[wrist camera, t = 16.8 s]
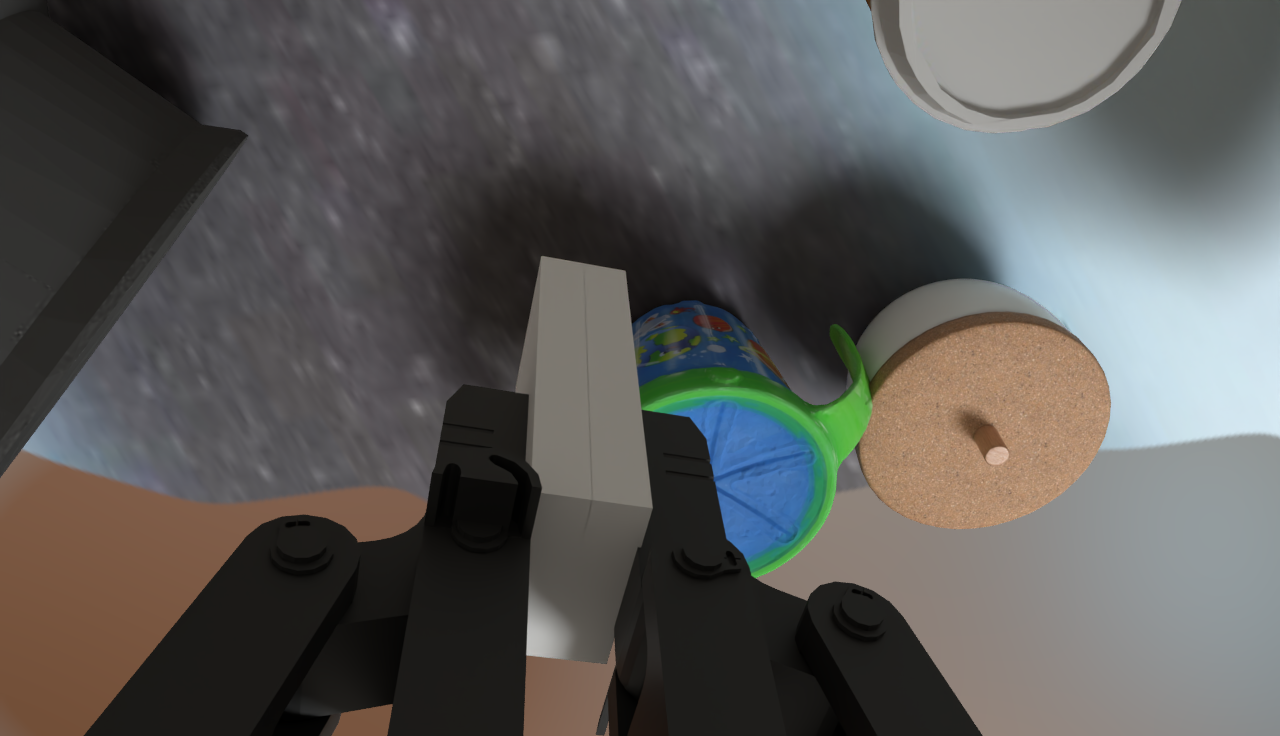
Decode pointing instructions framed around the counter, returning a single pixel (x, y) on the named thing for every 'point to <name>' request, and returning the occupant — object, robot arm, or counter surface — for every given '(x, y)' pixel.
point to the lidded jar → (976, 405)
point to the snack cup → (752, 424)
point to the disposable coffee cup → (1016, 55)
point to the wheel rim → (81, 204)
